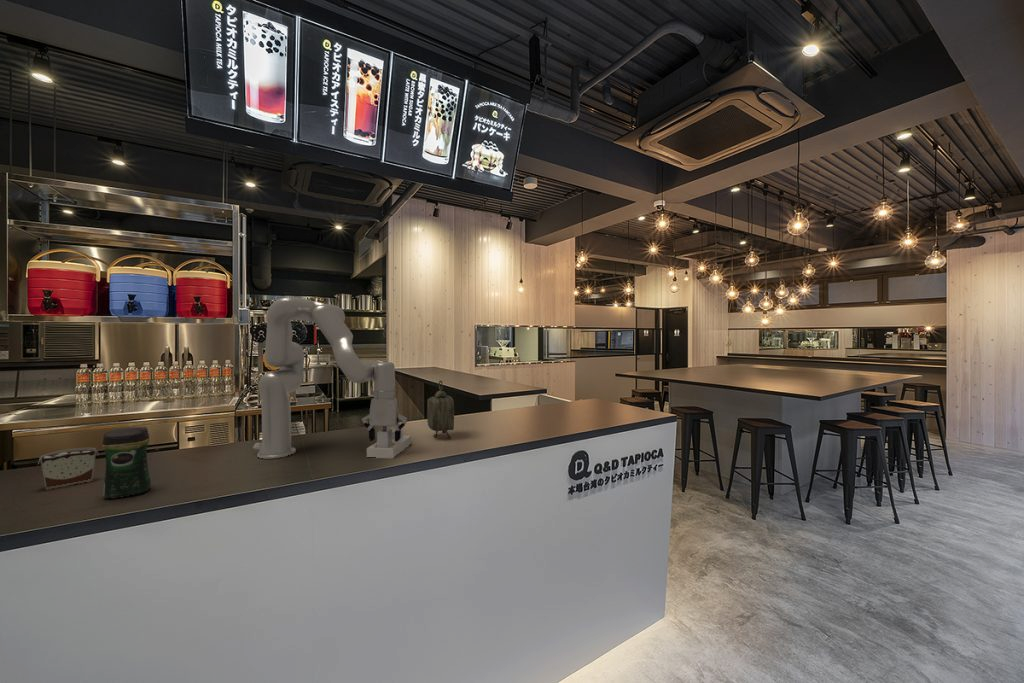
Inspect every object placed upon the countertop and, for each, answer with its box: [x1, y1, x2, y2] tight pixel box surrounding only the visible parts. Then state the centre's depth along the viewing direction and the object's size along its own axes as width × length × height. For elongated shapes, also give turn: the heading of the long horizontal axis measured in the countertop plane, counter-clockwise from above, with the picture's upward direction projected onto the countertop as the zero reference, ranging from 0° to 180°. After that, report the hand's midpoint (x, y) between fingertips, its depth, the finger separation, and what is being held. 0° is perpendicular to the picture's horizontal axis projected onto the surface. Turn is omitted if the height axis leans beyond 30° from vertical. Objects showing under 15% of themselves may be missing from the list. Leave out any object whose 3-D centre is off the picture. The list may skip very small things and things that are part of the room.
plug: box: [376, 426, 392, 448], centre depth 154 cm, size 4×5×10 cm
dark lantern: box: [426, 380, 455, 440], centre depth 180 cm, size 14×9×25 cm, turn 22°
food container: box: [37, 447, 99, 487], centre depth 124 cm, size 12×6×10 cm, turn 141°
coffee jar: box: [101, 426, 152, 499], centre depth 116 cm, size 10×8×19 cm
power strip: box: [366, 428, 412, 459], centre depth 159 cm, size 10×20×6 cm, turn 175°
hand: (384, 440), depth 153 cm, fingers open, 9 cm apart
